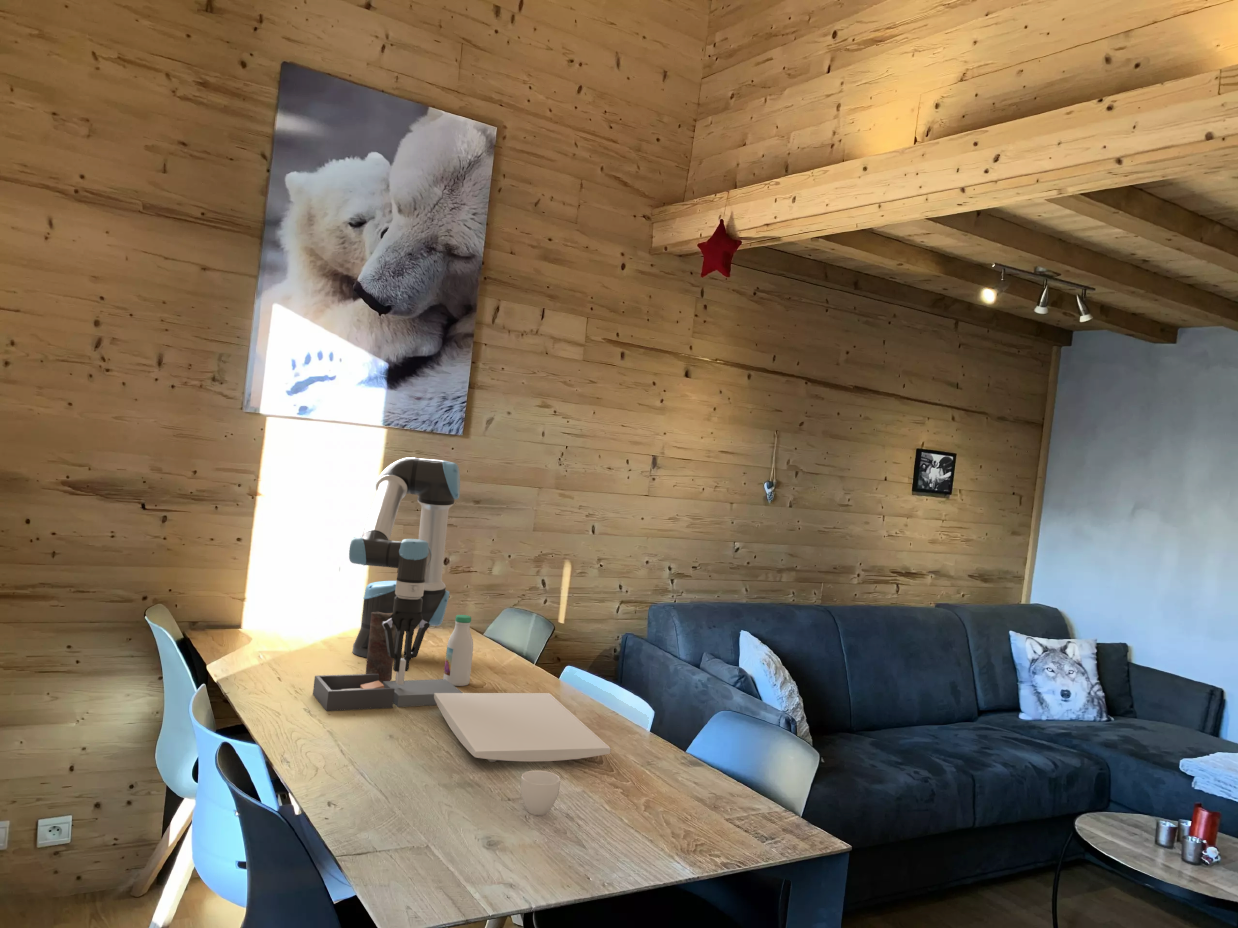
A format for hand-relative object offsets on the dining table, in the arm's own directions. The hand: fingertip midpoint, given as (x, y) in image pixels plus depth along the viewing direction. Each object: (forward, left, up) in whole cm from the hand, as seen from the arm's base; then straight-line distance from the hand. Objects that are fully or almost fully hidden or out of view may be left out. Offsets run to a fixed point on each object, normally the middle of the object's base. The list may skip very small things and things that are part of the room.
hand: (399, 682), depth 244 cm
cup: (+77, +4, -5) cm, 77 cm away
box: (0, -12, -4) cm, 13 cm away
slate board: (0, +7, -4) cm, 8 cm away
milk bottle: (-13, +22, -5) cm, 26 cm away
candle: (-18, 0, -5) cm, 18 cm away
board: (+35, +19, -5) cm, 40 cm away
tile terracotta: (0, -7, -2) cm, 7 cm away
